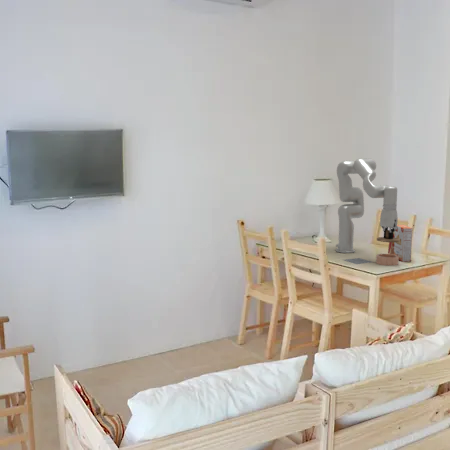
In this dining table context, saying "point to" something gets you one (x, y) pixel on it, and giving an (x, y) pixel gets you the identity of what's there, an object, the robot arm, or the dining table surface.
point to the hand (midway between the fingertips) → (388, 238)
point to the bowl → (387, 259)
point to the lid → (387, 238)
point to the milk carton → (391, 246)
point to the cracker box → (403, 243)
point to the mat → (357, 261)
